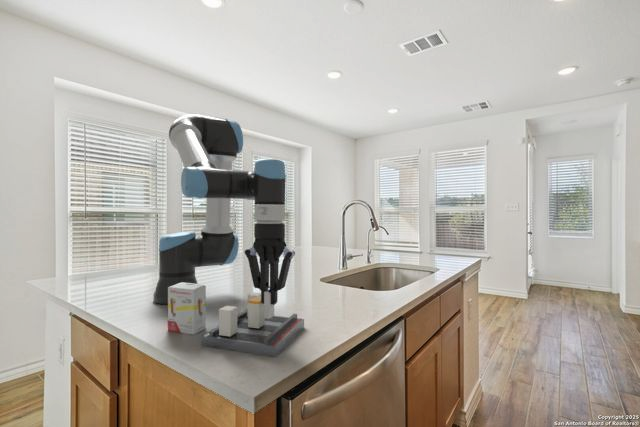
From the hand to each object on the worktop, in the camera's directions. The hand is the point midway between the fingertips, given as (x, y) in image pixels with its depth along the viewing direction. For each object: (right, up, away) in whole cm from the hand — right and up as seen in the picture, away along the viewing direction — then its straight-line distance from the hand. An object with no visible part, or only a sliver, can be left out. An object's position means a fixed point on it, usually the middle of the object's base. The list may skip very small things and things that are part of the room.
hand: (269, 316), depth 79 cm
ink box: (-23, -5, +5) cm, 24 cm away
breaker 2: (-5, -2, +8) cm, 10 cm away
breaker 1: (-9, -3, -4) cm, 10 cm away
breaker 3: (-3, -3, +1) cm, 4 cm away
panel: (-3, -5, +1) cm, 6 cm away
